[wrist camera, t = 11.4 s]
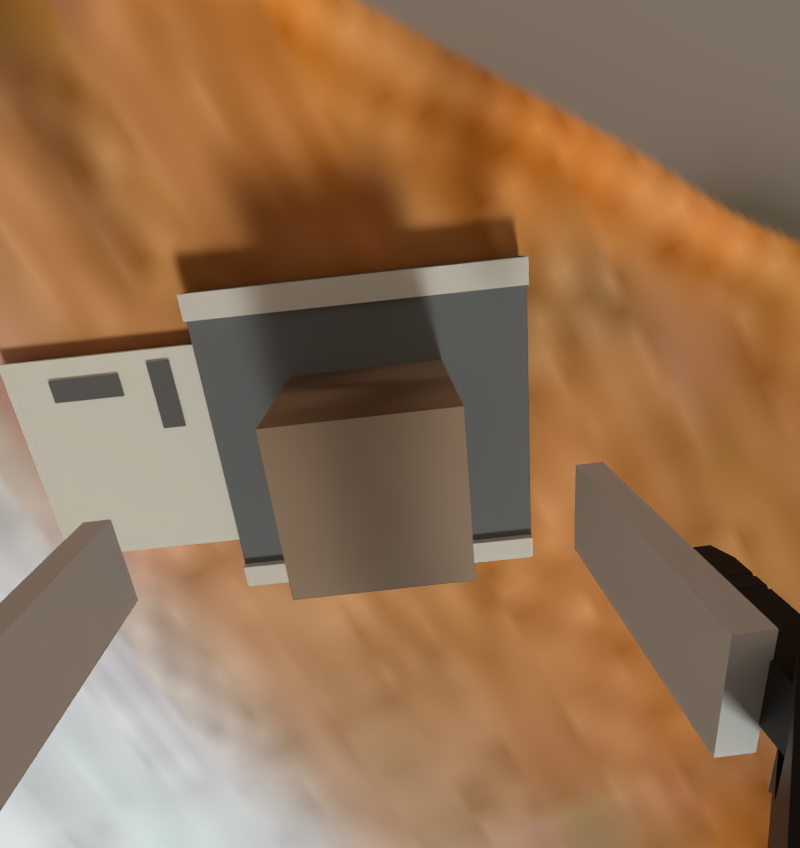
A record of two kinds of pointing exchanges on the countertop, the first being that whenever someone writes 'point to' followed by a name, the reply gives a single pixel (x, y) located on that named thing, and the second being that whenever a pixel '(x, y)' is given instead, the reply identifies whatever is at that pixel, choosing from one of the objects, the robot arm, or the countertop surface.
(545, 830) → the countertop surface
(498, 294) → the tray
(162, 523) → the beige flat square panel
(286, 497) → the walnut block
